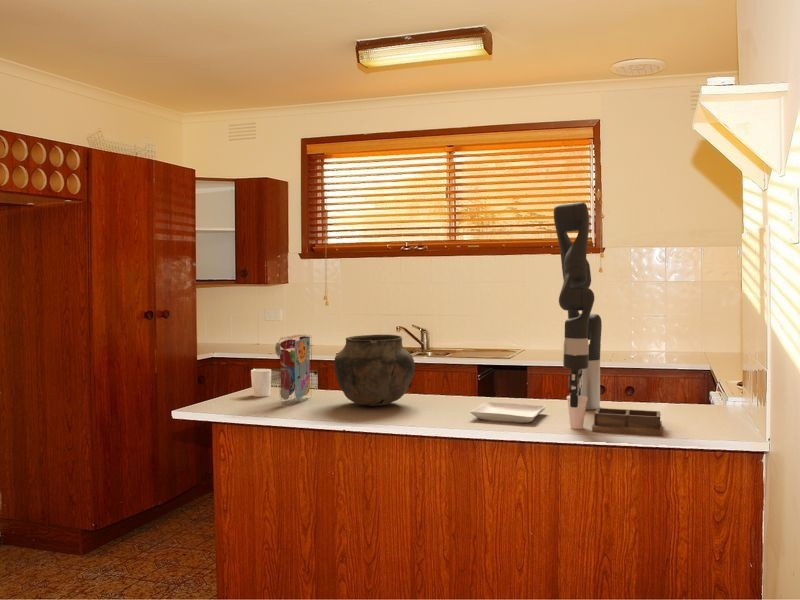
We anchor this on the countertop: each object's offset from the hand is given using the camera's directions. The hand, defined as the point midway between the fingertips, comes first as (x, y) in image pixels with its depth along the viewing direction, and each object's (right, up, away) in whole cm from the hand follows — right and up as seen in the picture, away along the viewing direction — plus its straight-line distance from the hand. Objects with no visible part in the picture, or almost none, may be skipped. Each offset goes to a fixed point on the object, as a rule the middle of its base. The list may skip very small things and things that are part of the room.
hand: (575, 405), depth 232 cm
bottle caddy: (+16, -7, -1) cm, 17 cm away
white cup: (-108, -5, +63) cm, 125 cm away
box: (-94, -6, +45) cm, 105 cm away
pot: (-63, -6, +40) cm, 75 cm away
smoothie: (+1, -7, +1) cm, 7 cm away
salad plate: (-18, -7, +18) cm, 27 cm away
